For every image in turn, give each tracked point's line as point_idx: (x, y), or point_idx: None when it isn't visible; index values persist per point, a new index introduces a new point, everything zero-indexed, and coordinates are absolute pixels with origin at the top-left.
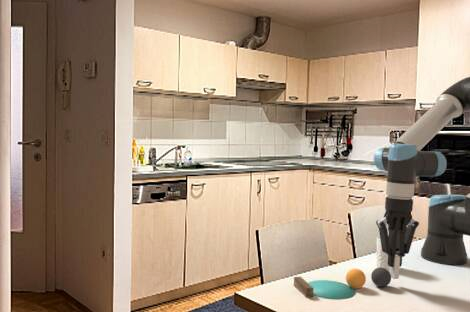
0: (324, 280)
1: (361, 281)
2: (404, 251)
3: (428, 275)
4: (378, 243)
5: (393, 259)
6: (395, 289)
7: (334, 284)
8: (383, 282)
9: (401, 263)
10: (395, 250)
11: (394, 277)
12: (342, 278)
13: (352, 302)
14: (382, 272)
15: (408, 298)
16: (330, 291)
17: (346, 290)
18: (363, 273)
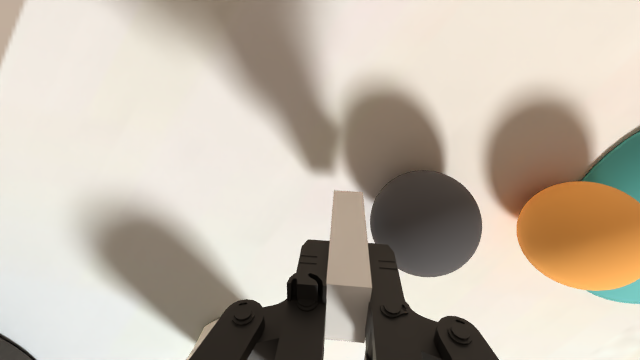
0: (611, 297)
1: (597, 188)
2: (265, 327)
3: (108, 257)
4: None
5: (374, 280)
6: (366, 150)
7: None
8: (444, 174)
9: (302, 252)
10: (380, 342)
11: (361, 196)
12: (503, 302)
13: None
14: (458, 216)
15: (389, 19)
16: None
17: (633, 181)
18: (582, 232)
